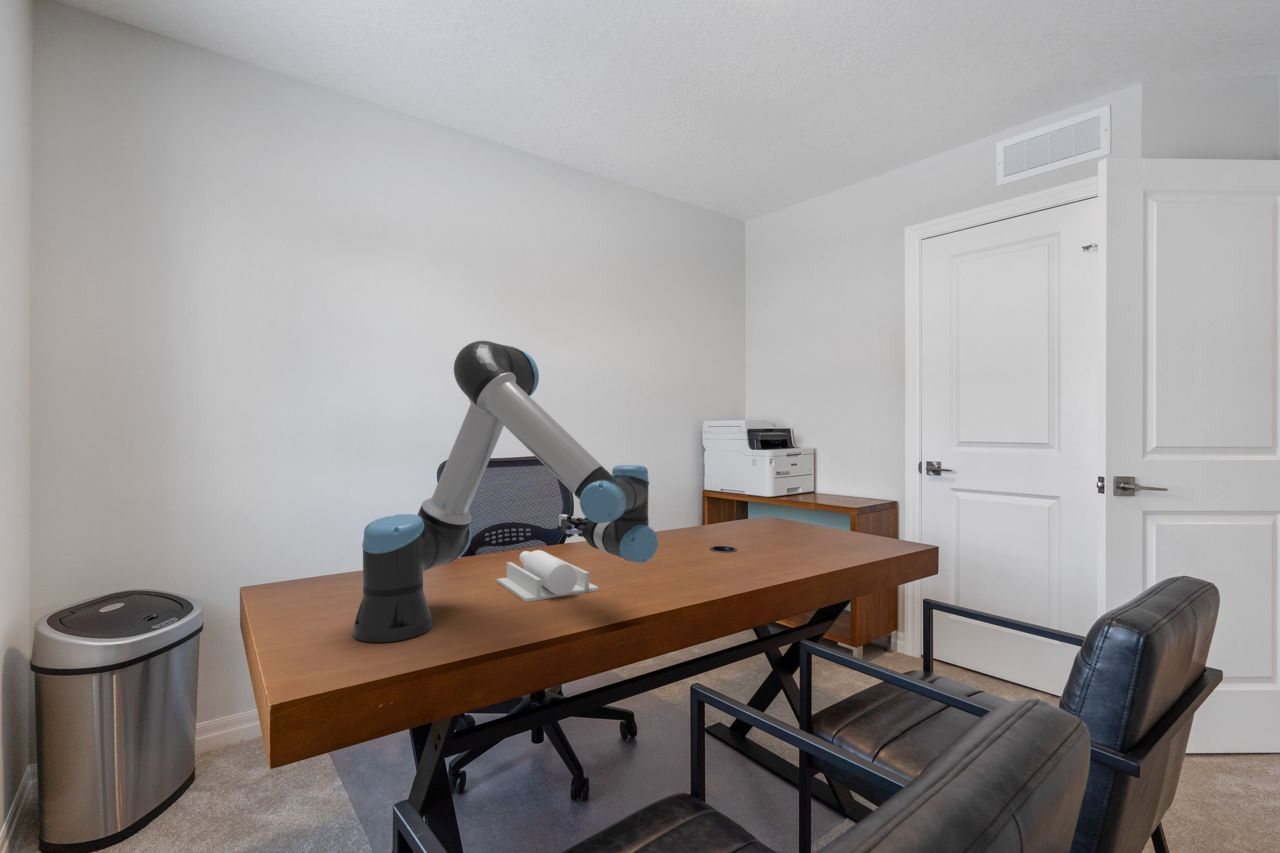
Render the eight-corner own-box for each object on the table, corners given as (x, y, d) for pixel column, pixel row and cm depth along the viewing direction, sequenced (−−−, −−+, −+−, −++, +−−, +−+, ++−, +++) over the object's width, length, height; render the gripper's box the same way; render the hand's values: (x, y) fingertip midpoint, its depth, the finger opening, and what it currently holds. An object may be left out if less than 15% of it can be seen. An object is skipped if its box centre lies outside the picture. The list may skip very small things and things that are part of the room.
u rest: (598, 590, 155) (598, 571, 155) (526, 602, 145) (526, 581, 145) (563, 572, 174) (563, 555, 174) (496, 581, 163) (496, 563, 163)
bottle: (560, 557, 147) (523, 538, 173) (541, 584, 145) (506, 560, 171) (583, 575, 150) (543, 553, 176) (564, 601, 148) (526, 575, 174)
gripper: (632, 514, 134) (584, 503, 154) (580, 519, 127) (537, 506, 147) (632, 547, 134) (584, 532, 154) (580, 554, 127) (537, 537, 147)
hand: (561, 519), depth 151 cm, fingers closed
